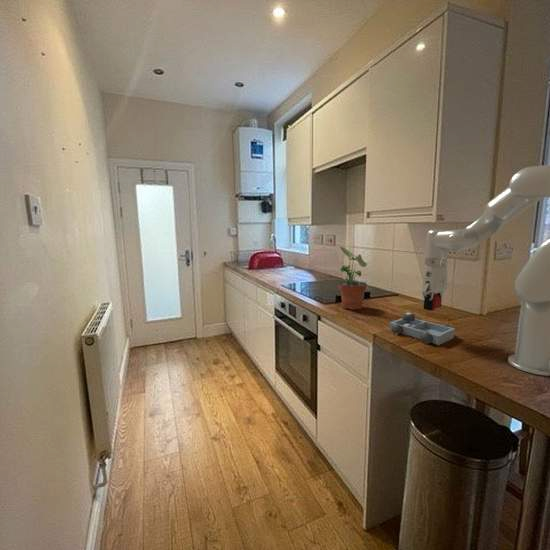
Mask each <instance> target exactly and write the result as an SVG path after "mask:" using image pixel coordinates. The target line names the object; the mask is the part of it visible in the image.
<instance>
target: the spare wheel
mask: <svg viewBox="0 0 550 550" xmlns="http://www.w3.org/2000/svg"><path fill="white" fill-rule="evenodd" d="M415 317H416V314H415V313H411V312H403V313H402V319H403V320H407V321H414V320H415Z"/></svg>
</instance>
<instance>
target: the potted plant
mask: <svg viewBox="0 0 550 550" xmlns="http://www.w3.org/2000/svg"><path fill="white" fill-rule="evenodd" d="M340 250H341V251H342V252H343V254H344V255H346V257H347V258H348V260H349V262H348V263H349V265H342V266H341V268H340V269H339V270H340V271H341V272H342V273H346V275H344V277H345V280H343V281H341V282H339V283H338V289H339V291H340V294H341V295H340V296H341V297H340V298H341V305H342V308H343V309H345V310H349V309H350V310H361V309H362V307H363V302H364V295H365V291H366V290H367V286H368V285H367V282H366V281H365V282H364V281H358V280H355V278H356V276H357V275H358V276H359V277H362V271H361V270H356V268H354V269H353V266H354V264H352V265H351V261H352V260H353V261H352V263H354V262H355V266H354V267H356V266H357V263H358V265H359V266H360V267H361V268H366V267H367V266H368V265H369V262H365V261H364V260H363V258H362V255H361V254H360V253H359V254H358V255H355V254H354V253H352V252H351V251H349V250H348V249H346V248H344V247H343V246H340ZM355 270H356V271H355Z"/></svg>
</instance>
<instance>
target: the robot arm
mask: <svg viewBox="0 0 550 550" xmlns="http://www.w3.org/2000/svg"><path fill="white" fill-rule="evenodd" d="M544 198H550V164H544V165H534V166H528V167H527V166H526V167H524V168H522V169H520V170H519V171H517V172H516V173H514V175H513V176H512V177H511V178H510V180H509V184H508V186H507V187H506V188H504V190H503V191H501V192H500V193H499V194H497V195H496V196H495V197H493V198H492V199H491V200H490V201H488V202H487V203H486V205H485V209H484V212H483V213H482V214H481V216H480V217H478V219H477V220H475V221H474V222H472V223H471V224H470V225H468V226H467V227H466V228H459V229H452V230H447V229H430V230H428V231H427V233H426V242H425V243H426V244H425V255H424V256H425V257H424V272H423V279H422V291H421V294H422V295H423V296H422V297H423V310H427V311H431V312H433V311H432V310H433V300H432V299H433V295H434V294H437V295H439V297H440V298H441V302H442V301H443V293H444V292H445V291H446V290H447V287H448V269H447V267H448V257H449V251H452V252H460V251H465V250H466V251H467V250H471V249H473V248H476V247H477V246H479V245H480V244H482V243H483V242H485V241H486V240H489V238H491V237H492V236H493V235H495V234H496V233H497V232H498V231H500V230H501V229H502V228H503V227H505V226H506V225H507V223H508V222H511V220H513V219H515V217H517V216H519V215H520V214H522V213H523V212H524V211H525V210H527V209H529V208H530V207H531V206H533V205H535V204H537V203H538V202H539V201H541V200H542V199H544ZM536 248H537V249H536V250H535V251H534V252H533V254H532V255H531V257H529V259H528V261H527V262H526V264H525V265H524V267H523V268H522V269H521V271H520V272H519V274H518V275H517V277H516V279H515V281H514V289H515V292H516V293H515V294H517V295H518V297H519V298H521V299H522V301H521V304H520V312H519V319H518V326H517V332H516V333H517V335H516V343H515V350H514V354H512V355H509V356H508V359H507V362H508V363H509V365H511V366H512V367H514V368H516V369H518V370H521V371H524V372H527V373H529V374H534V375H539V376H545V377H549V376H550V236H549V237H547V238H546V239H545V240H543V242H541V244H539V245H538V246H537V247H536ZM429 294H431V295H429ZM439 308H442V304H441V305H440V307H438V309H439Z"/></svg>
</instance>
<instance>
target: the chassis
mask: <svg viewBox="0 0 550 550" xmlns="http://www.w3.org/2000/svg"><path fill="white" fill-rule="evenodd" d="M402 318H403V317H402ZM402 318H399V319H396V320H393V321H391V322H389V330H390V329H391V330H392V331H391V333H392V332H394V333H397V334H399V335H402V334H401V333H403V334H406V335H409V336H412V337H415V338H414V339H416V338H418V339H417V340H419V339H420V340H419V341H420V342H421V343H422V344H424V343H425V344H424V345H428V344H432V343H433V345H435V344H436V346H441V345H443V344H445V343H446V342H448V341H451V340H452V339H454V338H455V333H456V328H454V327H451V325H449V324H446V323H443V324H437V323H435V322H434V323H433V322H430V321H428V320H427V321H426V320H422V318H420V317H419V316H415V320H414V321H407V320H403V319H402ZM406 335H405V336H406ZM409 336H408V337H409ZM412 337H411V338H412ZM440 344H441V345H440Z"/></svg>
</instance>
